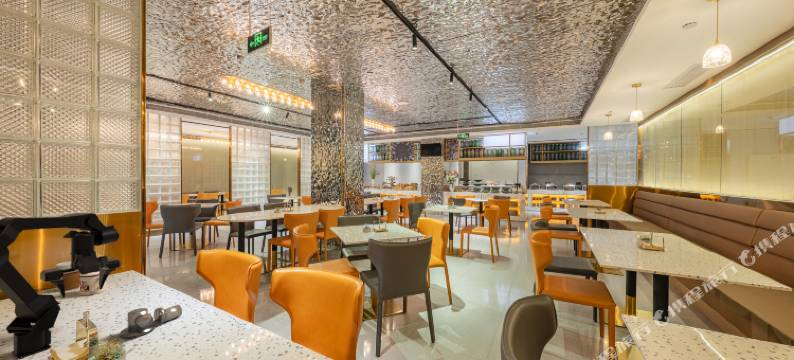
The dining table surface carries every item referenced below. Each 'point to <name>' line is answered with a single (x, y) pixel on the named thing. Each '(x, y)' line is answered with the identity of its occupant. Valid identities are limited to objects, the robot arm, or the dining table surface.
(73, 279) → the disposable coffee cup
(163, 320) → the silver metal long piece
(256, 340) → the dining table surface
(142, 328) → the elbow
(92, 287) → the teacup with lid
